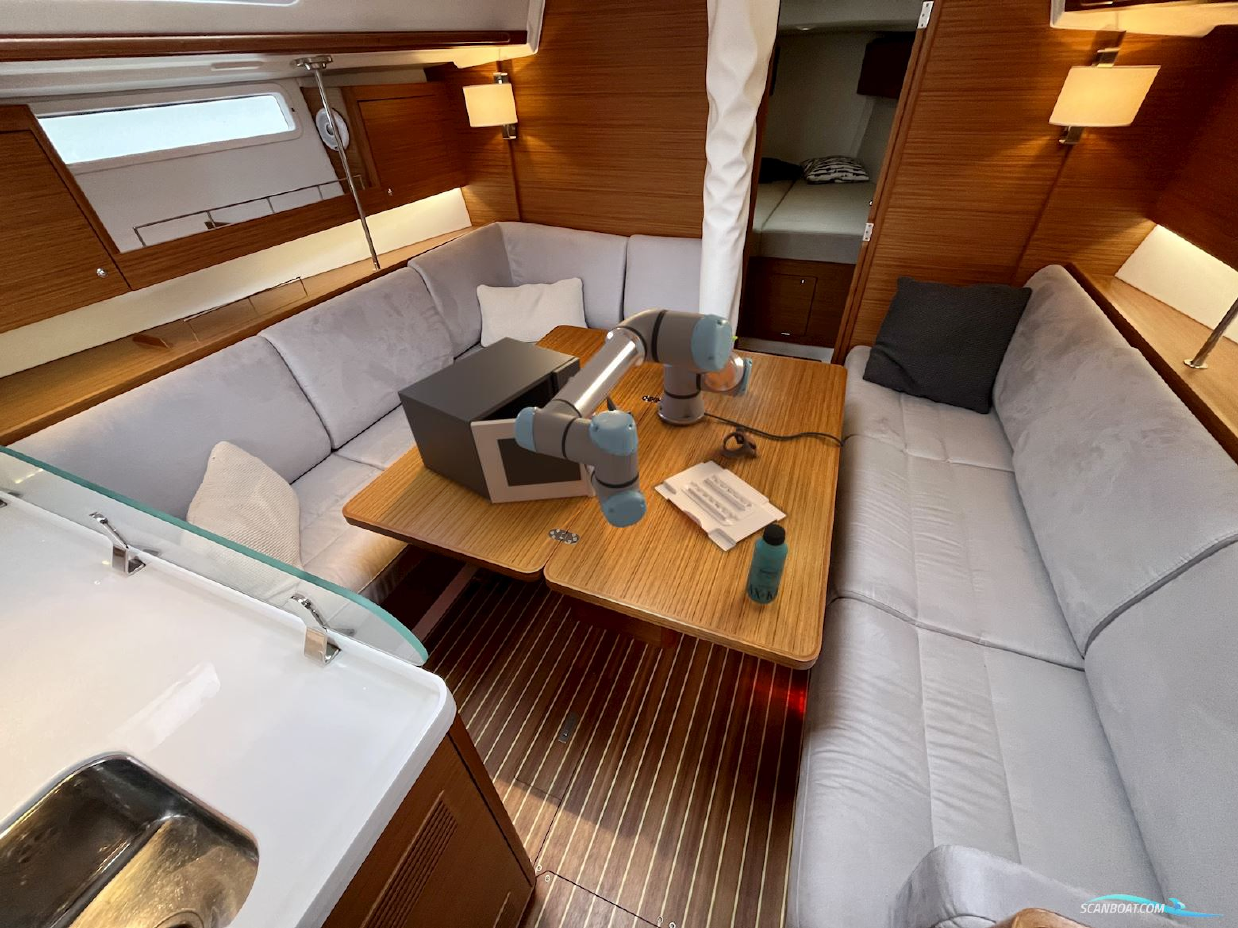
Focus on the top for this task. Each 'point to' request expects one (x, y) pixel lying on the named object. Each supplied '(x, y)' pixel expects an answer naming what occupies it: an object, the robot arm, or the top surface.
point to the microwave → (480, 402)
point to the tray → (719, 503)
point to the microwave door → (524, 467)
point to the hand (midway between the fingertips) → (579, 407)
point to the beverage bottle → (767, 565)
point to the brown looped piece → (740, 439)
